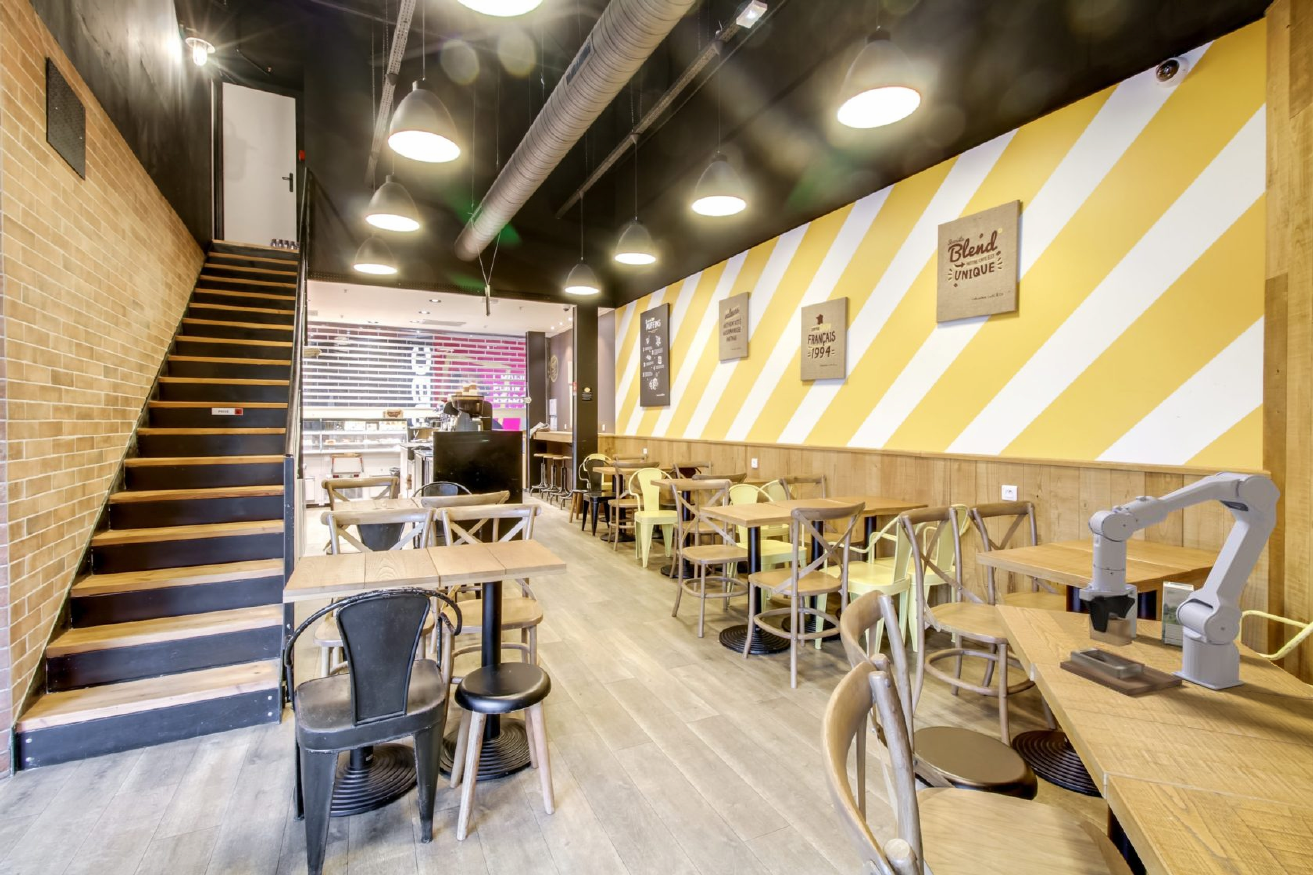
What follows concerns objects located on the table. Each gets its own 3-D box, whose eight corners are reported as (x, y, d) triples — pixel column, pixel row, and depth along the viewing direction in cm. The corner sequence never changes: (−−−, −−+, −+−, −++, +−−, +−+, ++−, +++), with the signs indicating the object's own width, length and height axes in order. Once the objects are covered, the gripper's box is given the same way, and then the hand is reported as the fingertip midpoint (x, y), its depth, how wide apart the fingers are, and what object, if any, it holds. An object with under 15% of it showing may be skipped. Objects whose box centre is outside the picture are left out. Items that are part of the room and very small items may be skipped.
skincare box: (1137, 638, 150) (1138, 590, 150) (1117, 637, 151) (1119, 589, 151) (1123, 630, 156) (1124, 584, 156) (1105, 628, 157) (1106, 583, 157)
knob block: (1103, 635, 132) (1101, 609, 132) (1132, 643, 127) (1130, 616, 127) (1089, 638, 131) (1088, 611, 131) (1118, 646, 125) (1116, 618, 125)
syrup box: (1192, 642, 147) (1193, 584, 147) (1192, 649, 143) (1194, 589, 142) (1161, 637, 151) (1163, 579, 151) (1161, 643, 147) (1162, 584, 146)
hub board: (1112, 658, 137) (1112, 644, 137) (1182, 684, 124) (1182, 668, 124) (1060, 667, 132) (1060, 652, 132) (1127, 695, 119) (1127, 678, 119)
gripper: (1113, 560, 135) (1112, 620, 135) (1066, 565, 130) (1064, 627, 131) (1148, 568, 128) (1146, 631, 129) (1099, 573, 124) (1097, 638, 124)
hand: (1107, 629), depth 129 cm, fingers closed on knob block, 4 cm apart
